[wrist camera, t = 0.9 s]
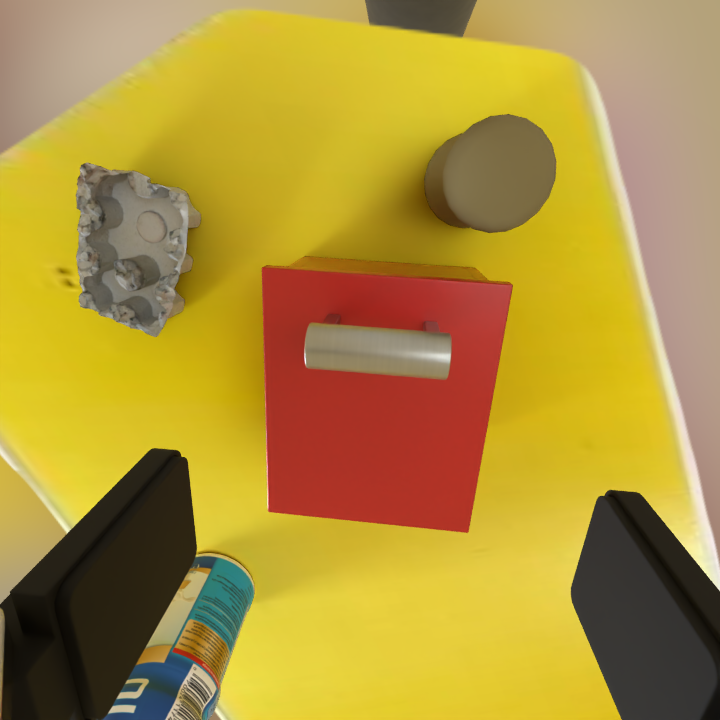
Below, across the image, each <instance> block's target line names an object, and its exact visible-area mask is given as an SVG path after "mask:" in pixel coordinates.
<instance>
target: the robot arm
mask: <svg viewBox="0 0 720 720" xmlns="http://www.w3.org/2000/svg"><path fill="white" fill-rule="evenodd" d="M196 551H197V544H196V535H195V525H194V516H193V507H192V497H191V488H190V478H189V469H188V462H187V459H186V458H185V457H181V454H180V452H179V451H177V450H168V449H157V448H154V449H151V450H150V451H148V452H147V453H146V455H145V456H144V457H143V458H142V459H141V460H140V461H139V462H138V463H137V464H136V465H135V466H134V467H133V468H132V469H131V470H130V471H129V472H128V473H127V474H126V475H125V476H124V477H123V478H122V479H121V480H120V481H119V482H118V483H117V484H116V485H115V486H114V487H113V488H112V489H111V490H110V491H109V492H108V493H107V494H106V495H105V496H104V497H103V498H102V499H101V500H100V501H99V502H98V503H97V504H96V505H95V506H94V507H93V508H92V509H91V510H90V511H89V512H88V513H87V514H86V515H85V516H84V517H83V518H82V519H81V520H80V521H79V522H78V523H77V524H76V525H75V526H74V527H73V528H72V529H71V530H70V531H69V532H68V533H67V535H66V536H65V537H64V538H63V539H62V540H61V541H60V542H59V543H58V544H57V545H56V546H55V547H54V548H53V549H52V550H51V551H50V552H49V553H48V554H47V555H46V556H45V557H44V558H43V559H42V560H41V561H40V562H39V563H38V564H37V565H36V566H35V567H34V568H33V569H32V570H31V571H30V572H29V573H28V574H27V575H26V576H25V577H24V578H23V579H22V580H21V581H20V582H19V583H18V584H17V585H16V586H15V587H14V588H13V589H12V590H11V591H10V595H9V596H8V597H7V598H6V599H5V600H4V601H3V602H2V603H1V604H0V720H102V719H104V718H105V717H106V715H107V714H108V713H109V711H110V710H111V708H112V706H113V704H114V703H115V701H116V699H117V697H118V696H119V694H120V692H121V690H122V689H123V687H124V685H125V683H126V681H127V680H128V678H129V676H130V674H131V673H132V671H133V669H134V667H135V665H136V664H137V662H138V660H139V658H140V657H141V655H142V653H143V651H144V650H145V648H146V646H147V644H148V642H149V641H150V639H151V637H152V635H153V634H154V632H155V630H156V628H157V626H158V625H159V623H160V621H161V619H162V618H163V616H164V614H165V612H166V611H167V609H168V607H169V605H170V603H171V602H172V600H173V598H174V596H175V595H176V593H177V591H178V589H179V587H180V586H181V584H182V582H183V580H184V579H185V577H186V575H187V573H188V572H189V570H190V568H191V566H192V564H193V562H194V560H195V556H196ZM571 598H572V603H573V606H574V608H575V610H576V613H577V615H578V618H579V620H580V622H581V625H582V627H583V629H584V632H585V634H586V636H587V639H588V641H589V643H590V646H591V648H592V650H593V653H594V655H595V658H596V660H597V662H598V665H599V667H600V669H601V672H602V674H603V676H604V679H605V681H606V683H607V686H608V688H609V691H610V693H611V695H612V698H613V700H614V702H615V705H616V707H617V709H618V712H619V714H620V716H621V719H622V720H720V591H719V590H718V589H717V587H716V586H715V585H714V584H713V582H712V581H711V580H710V579H709V578H708V576H707V575H706V574H705V573H704V571H703V570H702V569H701V568H700V566H699V565H698V564H697V563H696V561H695V560H694V559H693V558H692V557H691V555H690V554H689V553H688V552H687V550H686V549H685V548H684V547H683V545H682V544H681V543H680V542H679V540H678V539H677V538H676V537H675V536H674V534H673V533H672V532H671V531H670V529H669V528H668V527H667V526H666V524H665V523H664V522H663V521H662V520H661V518H660V517H659V516H658V515H657V513H656V512H655V511H654V510H653V508H652V507H651V506H650V505H649V503H648V502H647V501H646V500H645V499H644V497H643V496H642V495H641V494H640V493H637V492H627V491H616V490H609V491H607V492H606V494H605V496H599V497H598V499H597V501H596V504H595V507H594V511H593V514H592V518H591V521H590V525H589V528H588V531H587V535H586V538H585V542H584V545H583V548H582V552H581V555H580V559H579V562H578V566H577V569H576V572H575V576H574V579H573V583H572V587H571Z"/></svg>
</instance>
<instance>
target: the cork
mask: <svg viewBox="0 0 720 720" xmlns="http://www.w3.org/2000/svg"><path fill="white" fill-rule="evenodd" d="M555 174H556V158H555V154H554V150H553V147H552V143H551V142H550V140H549V139H548V137H547V136H546V135H545V133H544V132H543V130H542V129H541V128H539V127H538V126H536V125H535V124H534V123H532V122H531V121H529V120H528V119H526V118H522V117H518V116H514V115H510V114H507V115H498V116H490V117H488V118H486V119H484V120H482V121H479V122H477V123H475V124H473V125H472V126H471V127H470V128H469V129H468V130H466V131H465V132H464V133H463V134H460V135H458V136H455V137H453V138H451V139H449V140H447V141H446V142H445V143H444V144H443V145H442V146H441V147H440V148H439V149H437V150H436V152H435V154H434V155H433V157H432V159H431V160H430V162H429V164H428V167H427V171H426V175H425V179H424V180H425V195H426V198H427V201H428V203H429V206H430V208H431V209H432V210H433V212H434V213H435V214H436V216H437V217H438V218H439V219H441V220H443V221H444V222H446V223H447V224H449V225H452V226H456V227H460V228H469V227H471V228H472V229H475V230H480V231H484V232H488V233H493V232H505V231H508V230H511V229H513V228H515V227H518V226H520V225H523V224H524V223H525V222H526V221H528V220H529V219H530V218H531V217H533V216H534V215H535V214H536V213H537V212H538V211H539V210H540V208H541V207H542V206H543V204H544V203H545V202H546V200H547V199H548V197H549V195H550V192H551V190H552V187H553V184H554V181H555Z"/></svg>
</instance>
